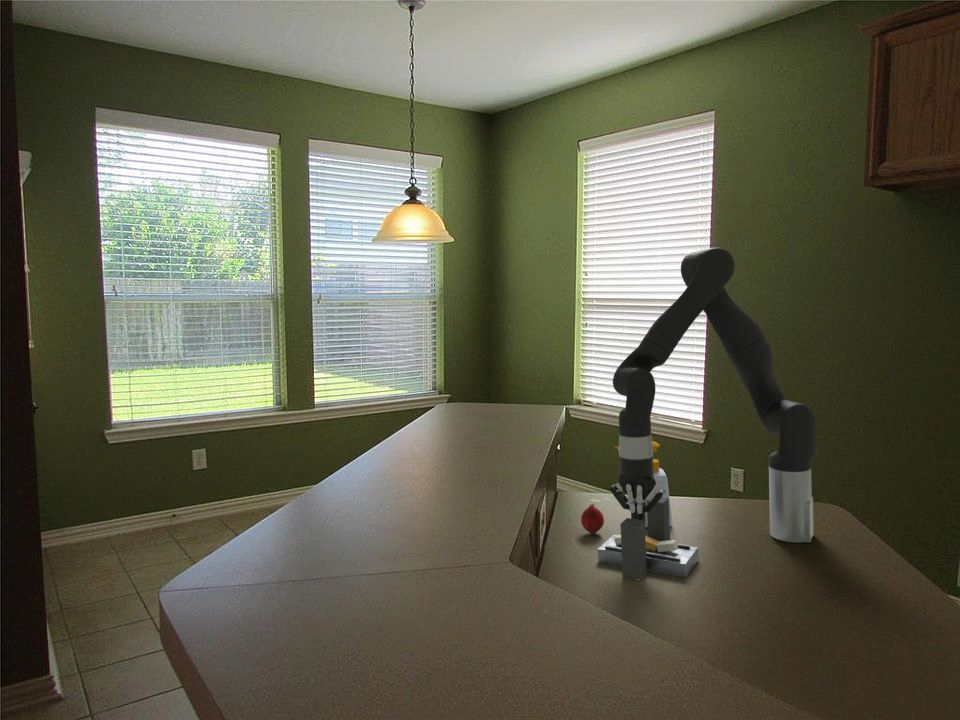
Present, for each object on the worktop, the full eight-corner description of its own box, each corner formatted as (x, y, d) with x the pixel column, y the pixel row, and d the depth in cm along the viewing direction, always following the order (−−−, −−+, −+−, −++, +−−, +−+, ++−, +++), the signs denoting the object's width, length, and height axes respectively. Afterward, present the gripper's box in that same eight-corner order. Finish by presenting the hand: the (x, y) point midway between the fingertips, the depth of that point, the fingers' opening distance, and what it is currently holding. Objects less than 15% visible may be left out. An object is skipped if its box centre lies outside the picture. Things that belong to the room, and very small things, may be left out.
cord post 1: (646, 573, 140) (644, 520, 139) (640, 580, 137) (638, 526, 136) (629, 570, 143) (627, 518, 142) (622, 577, 139) (620, 523, 138)
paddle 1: (635, 539, 149) (633, 533, 149) (631, 543, 147) (629, 536, 147) (619, 541, 152) (617, 534, 152) (615, 544, 150) (613, 538, 150)
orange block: (657, 547, 147) (659, 541, 146) (654, 551, 145) (656, 545, 144) (641, 540, 149) (642, 534, 148) (637, 544, 147) (639, 538, 146)
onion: (604, 538, 162) (602, 507, 161) (581, 538, 163) (579, 507, 163) (604, 530, 168) (603, 500, 167) (582, 529, 169) (580, 500, 168)
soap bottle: (616, 517, 177) (613, 438, 175) (668, 516, 175) (665, 436, 173) (618, 529, 168) (615, 446, 166) (673, 528, 166) (670, 444, 164)
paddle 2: (678, 546, 144) (676, 539, 144) (675, 550, 142) (673, 543, 142) (661, 548, 146) (659, 541, 146) (658, 552, 144) (656, 545, 144)
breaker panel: (698, 560, 146) (697, 545, 145) (685, 577, 137) (685, 561, 137) (614, 546, 157) (613, 532, 156) (598, 561, 148) (597, 546, 148)
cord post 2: (670, 546, 155) (668, 497, 153) (665, 552, 151) (663, 502, 150) (654, 543, 157) (652, 496, 156) (648, 549, 153) (646, 500, 152)
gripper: (669, 452, 145) (672, 526, 147) (614, 447, 152) (617, 518, 154) (659, 460, 139) (662, 537, 140) (602, 455, 146) (605, 529, 148)
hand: (638, 527), depth 147 cm, fingers closed
